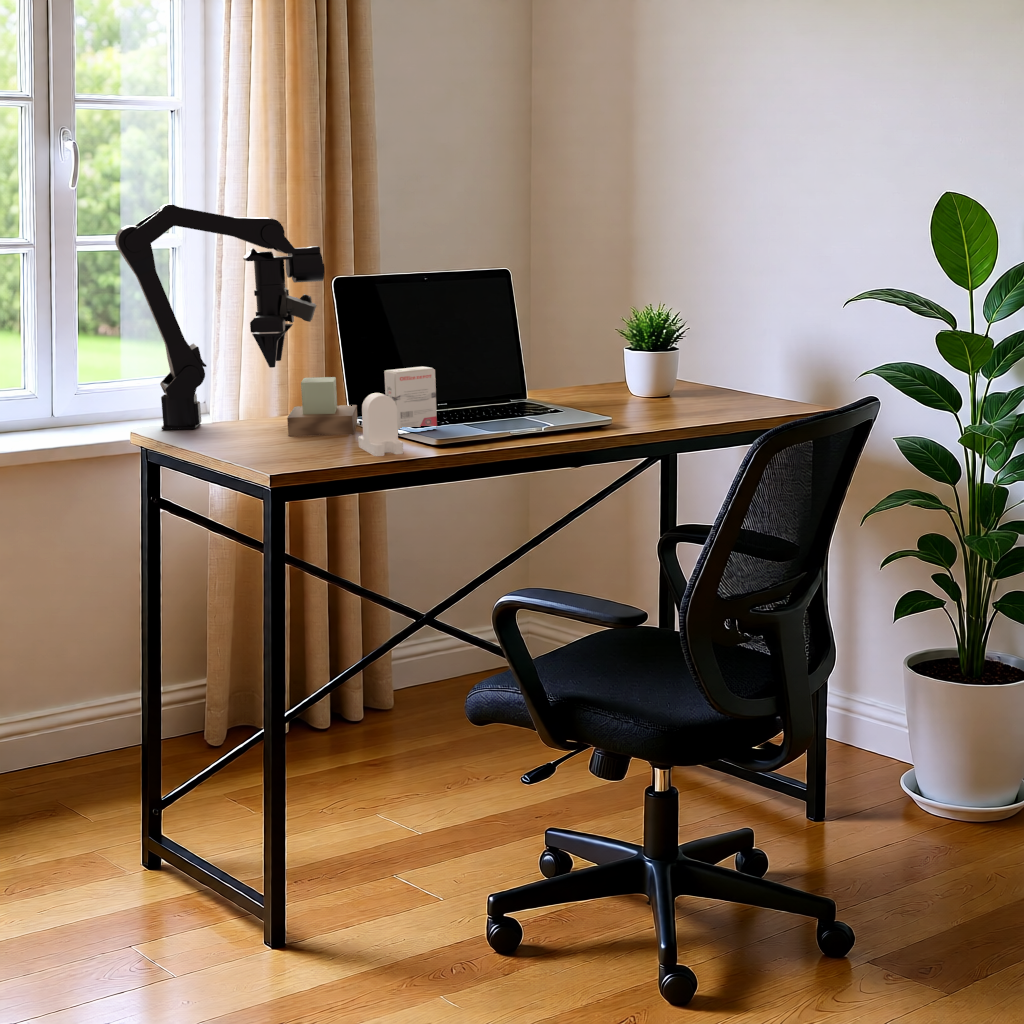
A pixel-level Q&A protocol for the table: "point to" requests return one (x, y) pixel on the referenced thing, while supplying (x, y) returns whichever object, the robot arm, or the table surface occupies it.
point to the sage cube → (319, 395)
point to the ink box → (413, 395)
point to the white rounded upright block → (380, 426)
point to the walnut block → (323, 422)
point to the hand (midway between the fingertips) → (275, 364)
